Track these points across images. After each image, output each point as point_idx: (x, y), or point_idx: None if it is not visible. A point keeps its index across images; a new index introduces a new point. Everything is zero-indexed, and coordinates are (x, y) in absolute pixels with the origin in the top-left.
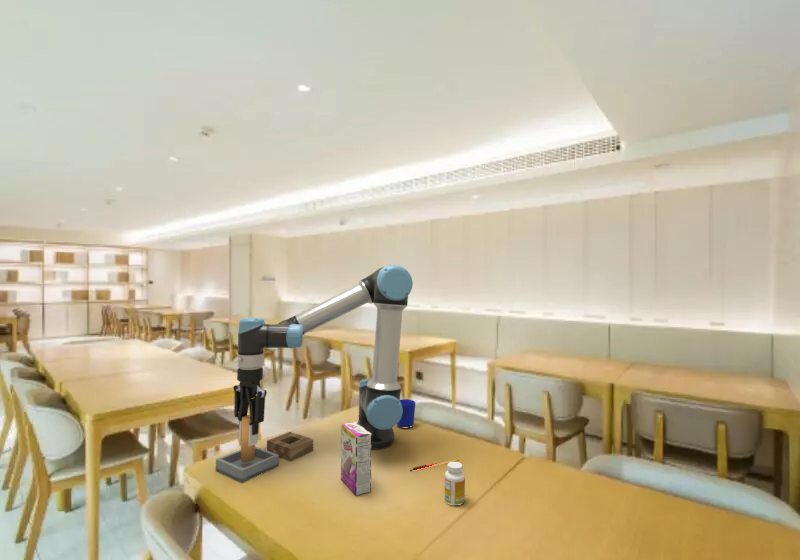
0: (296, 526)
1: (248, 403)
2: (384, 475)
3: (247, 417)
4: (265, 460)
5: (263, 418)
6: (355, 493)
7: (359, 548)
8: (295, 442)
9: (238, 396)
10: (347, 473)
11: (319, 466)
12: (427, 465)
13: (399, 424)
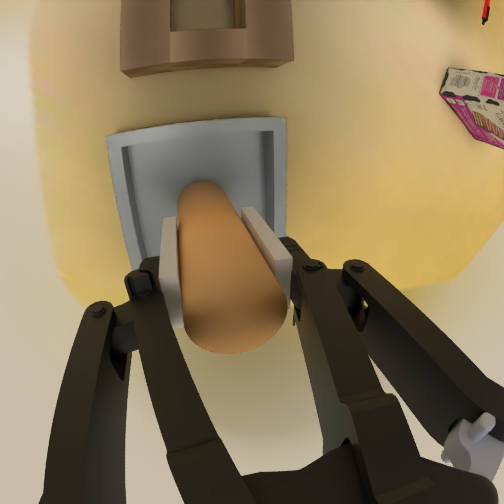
0: (442, 253)
1: (198, 393)
2: (472, 49)
3: (236, 327)
4: (285, 179)
5: (374, 274)
6: (477, 139)
7: (492, 229)
8: (253, 5)
9: (118, 486)
10: (481, 124)
11: (370, 53)
12: (488, 5)
13: None
